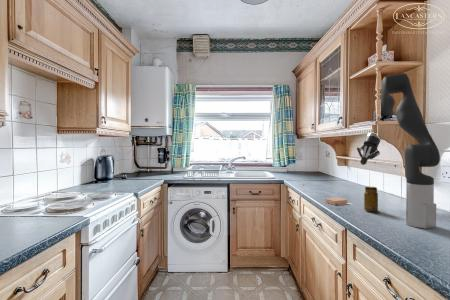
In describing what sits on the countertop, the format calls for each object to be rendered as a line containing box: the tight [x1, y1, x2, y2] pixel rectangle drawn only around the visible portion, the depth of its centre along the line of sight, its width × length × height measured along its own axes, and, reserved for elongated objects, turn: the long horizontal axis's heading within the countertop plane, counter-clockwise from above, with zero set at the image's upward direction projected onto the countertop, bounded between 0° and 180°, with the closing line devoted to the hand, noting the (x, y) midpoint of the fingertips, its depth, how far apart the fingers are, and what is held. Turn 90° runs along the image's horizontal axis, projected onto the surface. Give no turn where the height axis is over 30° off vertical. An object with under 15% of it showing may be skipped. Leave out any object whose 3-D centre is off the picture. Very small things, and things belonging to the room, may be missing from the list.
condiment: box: [363, 186, 385, 215], centre depth 136 cm, size 7×8×12 cm
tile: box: [324, 197, 348, 206], centre depth 154 cm, size 7×2×9 cm
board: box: [338, 201, 353, 206], centre depth 155 cm, size 9×9×1 cm
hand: (362, 164), depth 155 cm, fingers closed
